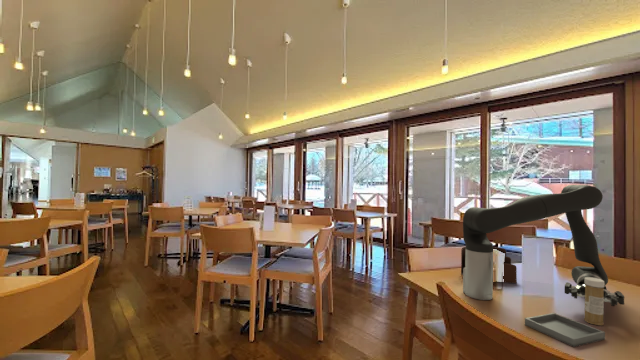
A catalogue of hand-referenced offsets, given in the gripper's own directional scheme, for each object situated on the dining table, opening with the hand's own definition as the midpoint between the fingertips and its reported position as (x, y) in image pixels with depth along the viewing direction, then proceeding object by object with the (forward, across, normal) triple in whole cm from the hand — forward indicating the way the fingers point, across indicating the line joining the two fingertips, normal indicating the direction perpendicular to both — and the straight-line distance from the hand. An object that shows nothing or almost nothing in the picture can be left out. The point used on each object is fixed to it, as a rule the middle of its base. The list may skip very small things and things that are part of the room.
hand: (593, 298), depth 93 cm
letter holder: (-27, -34, +8) cm, 44 cm away
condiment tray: (+15, -7, +7) cm, 18 cm away
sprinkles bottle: (0, 0, +7) cm, 7 cm away
